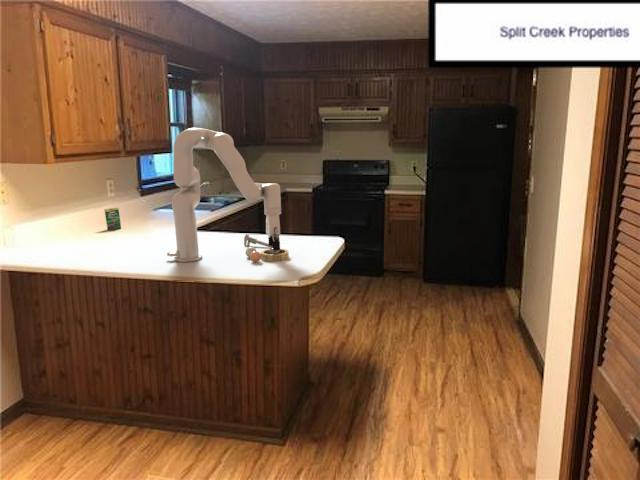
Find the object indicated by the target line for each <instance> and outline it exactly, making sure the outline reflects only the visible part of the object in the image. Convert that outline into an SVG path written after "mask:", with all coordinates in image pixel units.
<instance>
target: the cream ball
mask: <svg viewBox="0 0 640 480" xmlns="http://www.w3.org/2000/svg"><path fill="white" fill-rule="evenodd" d="M253 251H257V249H256V248H255V247H254V246H247V248H246V249H245V255H246V257H248V258H250V254H251V253H252V252H253Z"/></svg>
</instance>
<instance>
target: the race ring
mask: <svg viewBox="0 0 640 480" xmlns="http://www.w3.org/2000/svg"><path fill="white" fill-rule="evenodd" d="M270 249H271V248H268V249H264V250H261V251H260V254H261V259H260V260H261V261H264V262H273V263H274V262H283V261H286V260H288V259H289V257H290V254H289V250H288V249H285V248H280V250H279V251H280V254H269V250H270Z"/></svg>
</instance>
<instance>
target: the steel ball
mask: <svg viewBox="0 0 640 480" xmlns="http://www.w3.org/2000/svg"><path fill="white" fill-rule="evenodd" d="M269 249H270V250H269V254H280V251H279V250H275V251H274V250H273V248H269Z"/></svg>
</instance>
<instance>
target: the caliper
mask: <svg viewBox="0 0 640 480" xmlns="http://www.w3.org/2000/svg"><path fill="white" fill-rule="evenodd" d="M250 244H253V245H256V244H258V245H261V246H264V247H268V248H269V249H271V248H273V246H269V242H265V241H261V240H259V239H257V238H255V237H251V236H250V234H247V233H245V235H244V237H243V246H247V247H250Z"/></svg>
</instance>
